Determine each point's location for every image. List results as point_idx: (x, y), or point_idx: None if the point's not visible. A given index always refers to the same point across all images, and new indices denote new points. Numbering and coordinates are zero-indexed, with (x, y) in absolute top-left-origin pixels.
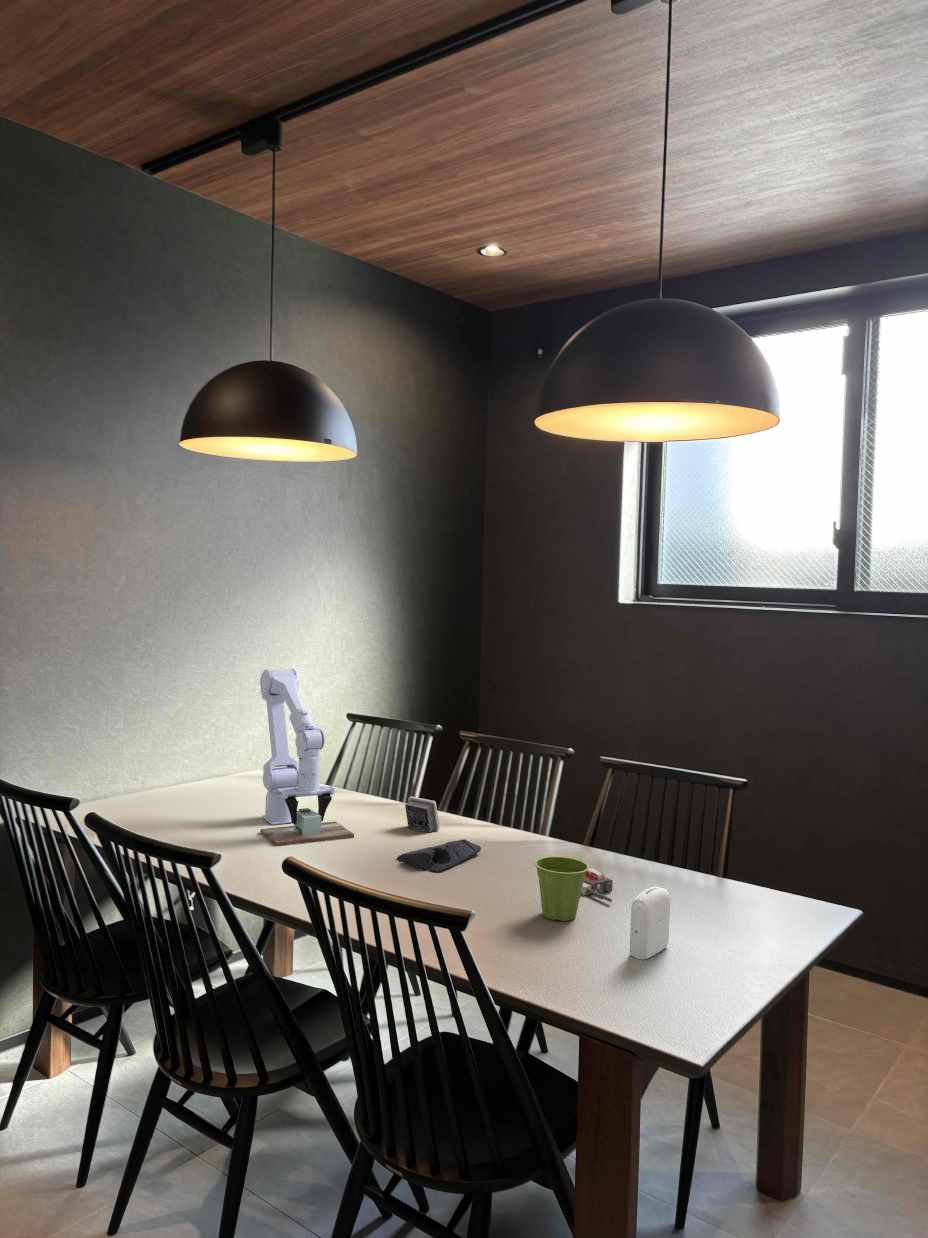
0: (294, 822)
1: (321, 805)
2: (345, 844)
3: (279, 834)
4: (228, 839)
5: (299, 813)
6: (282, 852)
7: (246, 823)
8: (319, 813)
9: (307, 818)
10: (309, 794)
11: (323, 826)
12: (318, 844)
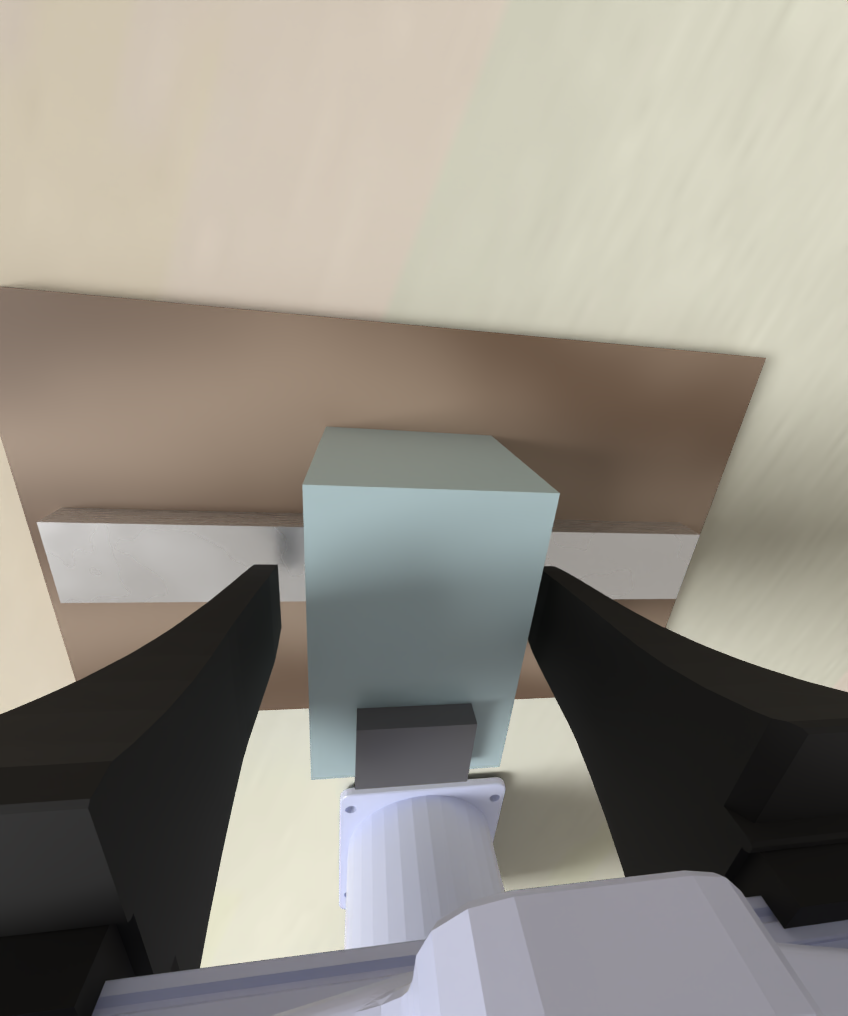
0: (564, 572)
1: (213, 722)
2: (145, 58)
3: (643, 525)
4: (831, 619)
5: (500, 683)
6: (814, 145)
7: (587, 823)
8: (260, 660)
9: (506, 488)
10: (730, 900)
11: (249, 557)
12: (423, 232)
